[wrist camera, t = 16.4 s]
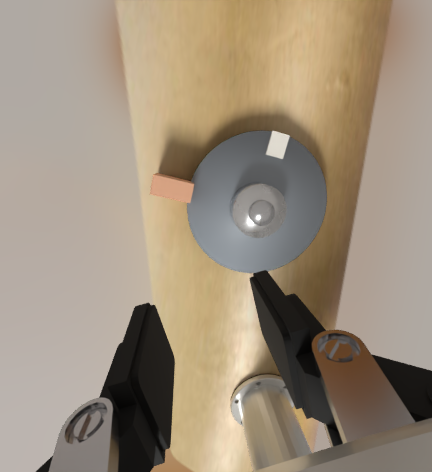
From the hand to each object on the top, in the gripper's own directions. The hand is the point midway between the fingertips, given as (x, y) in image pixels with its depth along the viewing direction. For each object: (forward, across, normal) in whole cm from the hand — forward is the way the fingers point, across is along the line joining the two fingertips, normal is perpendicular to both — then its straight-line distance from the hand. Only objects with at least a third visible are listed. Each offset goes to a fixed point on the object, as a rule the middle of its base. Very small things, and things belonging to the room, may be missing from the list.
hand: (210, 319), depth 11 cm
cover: (+25, -8, +2) cm, 26 cm away
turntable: (+27, -7, +1) cm, 28 cm away
